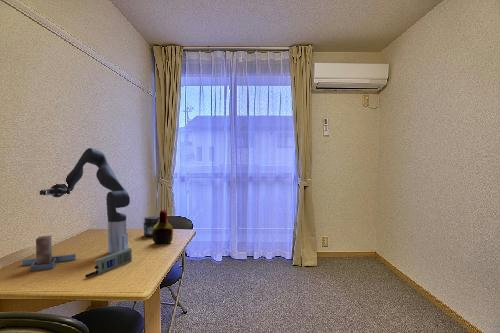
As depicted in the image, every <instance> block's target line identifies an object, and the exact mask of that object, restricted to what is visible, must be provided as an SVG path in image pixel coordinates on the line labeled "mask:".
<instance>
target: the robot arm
mask: <svg viewBox="0 0 500 333" xmlns="http://www.w3.org/2000/svg"><path fill="white" fill-rule="evenodd" d="M86 164H91V165H94V166H96V168H97V167H98V169H97V170H96V173H95V174H96V175H95V177H96V179H97V181H98V183H99V184H100V185H101V186H102V187H104V188H105V189H107V190H109V191H108V192H107V194H106V197H105V198H106V200H105V201H106V214H107V253H108V255H110V254H113V253H116V252H119V251H122V250H124V249H127V248H129V236H128V235H129V234H128V232H127V215H126V214H124V213H121V212H118V211H117V209H122V208H127V207H128V206H129V205H130V203H131V198H130V195H129V193H128V191H127V190H126V189H125V187H124V186H123V185H122V183H121V182H120V181H119V179H118V178H117V176H116V175H115V173H114V171H113V169H112V168H111V166H110V164H109V162H108V160H107V157H106V155H105V153H104V152H103V151H101V150H99V149H96V148H93V147H88V148H87V149H85V150H84V152H83V153H82V154H81V156H80V158H79V159H78V161H77V163H76V164H75V166H74V167H73V169H72V170H71V171H70V172H69V173H68V174H67V175H66V176H67V178H66V177H65V178H66V182H67V184H68V187H67V186H66V185H65V184H56V183H55V184H56V185H55V184H54V185H51V187H50V188H47V189H44V190H43V189H40V190H41V191H40V190H39V195H40V196H52V197H53V198H60V197H62V196H65V195H64V194H66V193H67V194H69V195H71V194H70V191H72V190H73V191H74V188H75V186H76V184H77V183H78V182H79V181H80V180H81V179H82V177H83V175H84V166H85V165H86ZM46 191H47V193H46ZM73 191H72V192H73Z"/></svg>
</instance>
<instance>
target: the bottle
mask: <svg viewBox="0 0 500 333" xmlns="http://www.w3.org/2000/svg"><path fill="white" fill-rule="evenodd" d="M158 217H159V222H158V223H157V224H156V225H155V226H154V227H153V231H152V236H153V237H152V241H153V243H154V244H156V245H160V244H169V243H172V242H173V239H174V237H173V236H174V228H173V226H172V225H171V224H170V223H169V221H168V211H167V210H166V209H162V210H160V212H159V216H158Z"/></svg>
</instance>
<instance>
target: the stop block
mask: <svg viewBox="0 0 500 333" xmlns="http://www.w3.org/2000/svg"><path fill="white" fill-rule="evenodd" d="M52 249H53V248H52V235H44V236H38V237H37V238H36V239H35V258H36V265H39V264H48V263H52V256H53V254H52Z"/></svg>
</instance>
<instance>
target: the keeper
mask: <svg viewBox="0 0 500 333" xmlns="http://www.w3.org/2000/svg"><path fill="white" fill-rule="evenodd" d="M76 260H77V253H70V254H69V253H68V254H61V255H52V263H48V264H39V265H36V257H33V258H32V257H31V258H23V259H22V265H21V266H30V272H37V271H47V270H53V269H55V267H56V265H57V264H58V263H59V262H67V261H69V262H70V261H76Z"/></svg>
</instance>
